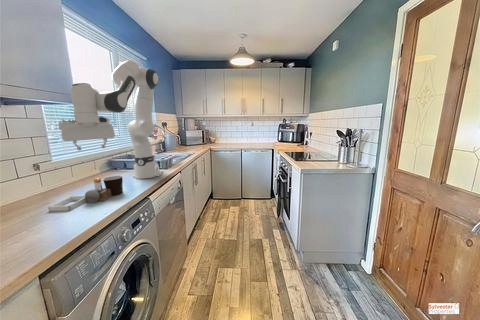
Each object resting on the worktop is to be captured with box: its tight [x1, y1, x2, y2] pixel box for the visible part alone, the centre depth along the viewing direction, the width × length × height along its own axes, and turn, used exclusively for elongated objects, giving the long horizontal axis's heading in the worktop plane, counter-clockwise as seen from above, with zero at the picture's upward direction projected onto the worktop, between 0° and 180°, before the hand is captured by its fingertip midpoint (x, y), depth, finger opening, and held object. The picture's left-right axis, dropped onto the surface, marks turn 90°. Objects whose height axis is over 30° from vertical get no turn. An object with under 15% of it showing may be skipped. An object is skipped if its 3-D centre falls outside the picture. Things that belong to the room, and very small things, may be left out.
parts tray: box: [47, 195, 87, 212], centre depth 97 cm, size 13×9×3 cm
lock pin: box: [93, 177, 103, 192], centre depth 103 cm, size 3×3×10 cm
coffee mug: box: [102, 175, 124, 197], centre depth 111 cm, size 12×9×10 cm
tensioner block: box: [84, 187, 113, 204], centre depth 103 cm, size 10×8×7 cm
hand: (91, 149), depth 99 cm, fingers open, 8 cm apart
